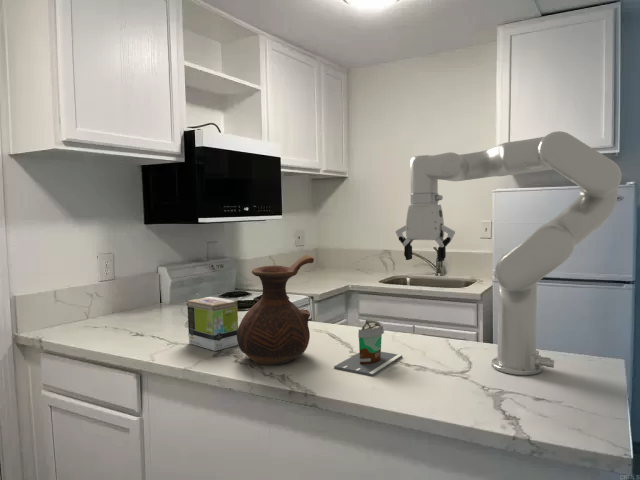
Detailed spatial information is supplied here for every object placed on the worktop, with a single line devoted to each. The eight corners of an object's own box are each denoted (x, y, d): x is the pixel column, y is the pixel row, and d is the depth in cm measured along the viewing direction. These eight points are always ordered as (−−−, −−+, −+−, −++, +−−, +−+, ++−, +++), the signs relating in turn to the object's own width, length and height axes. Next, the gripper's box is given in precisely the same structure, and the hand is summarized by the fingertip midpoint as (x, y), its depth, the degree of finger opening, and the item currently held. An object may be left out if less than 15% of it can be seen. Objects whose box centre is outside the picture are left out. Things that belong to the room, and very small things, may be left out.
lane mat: (402, 357, 141) (402, 354, 141) (372, 376, 126) (372, 373, 126) (365, 350, 147) (365, 348, 147) (334, 368, 133) (334, 366, 133)
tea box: (240, 344, 158) (238, 300, 157) (214, 352, 150) (212, 305, 149) (213, 337, 168) (211, 295, 167) (187, 343, 161) (185, 299, 159)
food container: (381, 367, 131) (380, 331, 130) (359, 366, 132) (358, 330, 131) (387, 353, 142) (386, 320, 142) (366, 352, 144) (365, 319, 143)
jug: (285, 375, 128) (281, 263, 126) (222, 364, 139) (218, 260, 137) (324, 352, 147) (322, 254, 145) (266, 343, 158) (263, 252, 156)
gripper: (458, 199, 135) (459, 260, 136) (401, 200, 144) (402, 257, 146) (449, 199, 128) (449, 263, 130) (390, 200, 138) (391, 260, 139)
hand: (424, 260), depth 138 cm, fingers open, 9 cm apart
